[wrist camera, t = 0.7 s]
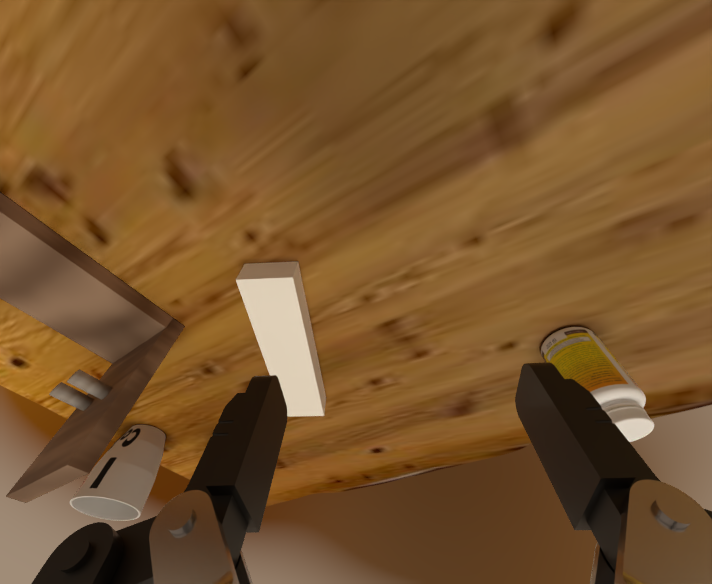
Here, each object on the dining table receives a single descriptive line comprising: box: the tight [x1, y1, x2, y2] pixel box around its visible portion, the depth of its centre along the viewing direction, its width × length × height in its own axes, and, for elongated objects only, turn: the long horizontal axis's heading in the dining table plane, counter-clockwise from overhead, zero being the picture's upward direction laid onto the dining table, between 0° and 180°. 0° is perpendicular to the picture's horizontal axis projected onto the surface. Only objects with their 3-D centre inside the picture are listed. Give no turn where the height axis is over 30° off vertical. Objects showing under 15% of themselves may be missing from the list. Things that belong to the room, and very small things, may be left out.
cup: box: [70, 425, 166, 521], centre depth 44 cm, size 8×8×10 cm
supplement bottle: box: [541, 327, 654, 442], centre depth 31 cm, size 6×6×10 cm
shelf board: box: [236, 261, 326, 416], centre depth 35 cm, size 21×5×3 cm, turn 4°
